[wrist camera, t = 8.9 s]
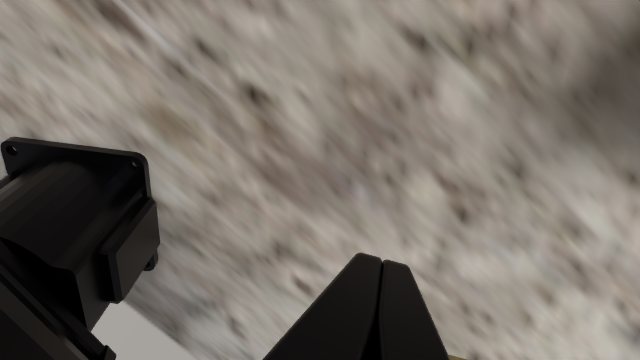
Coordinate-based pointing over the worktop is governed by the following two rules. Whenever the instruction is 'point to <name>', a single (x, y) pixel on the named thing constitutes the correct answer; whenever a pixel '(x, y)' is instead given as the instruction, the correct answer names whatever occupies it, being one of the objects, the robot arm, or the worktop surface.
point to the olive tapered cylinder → (455, 358)
